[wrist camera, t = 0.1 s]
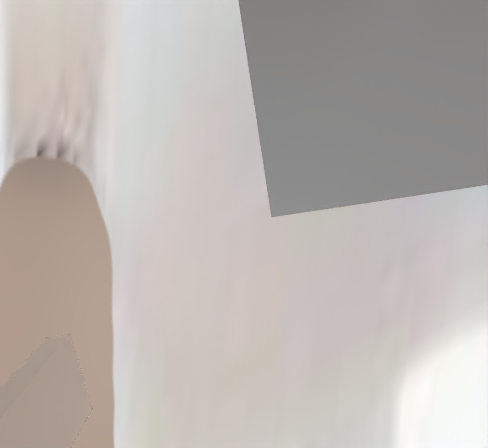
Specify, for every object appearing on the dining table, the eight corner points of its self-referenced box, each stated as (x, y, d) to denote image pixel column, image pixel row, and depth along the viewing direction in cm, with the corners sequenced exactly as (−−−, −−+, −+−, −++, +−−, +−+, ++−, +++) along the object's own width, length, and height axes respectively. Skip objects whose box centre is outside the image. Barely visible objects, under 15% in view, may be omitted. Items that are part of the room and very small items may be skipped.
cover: (277, 253, 27) (281, 286, 22) (226, -83, 22) (217, -137, 17) (635, 202, 25) (725, 225, 20) (666, -174, 20) (794, -262, 15)
